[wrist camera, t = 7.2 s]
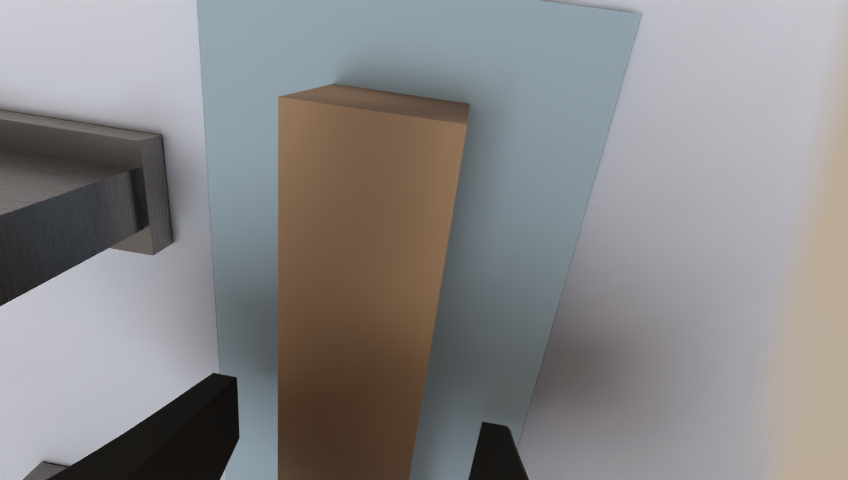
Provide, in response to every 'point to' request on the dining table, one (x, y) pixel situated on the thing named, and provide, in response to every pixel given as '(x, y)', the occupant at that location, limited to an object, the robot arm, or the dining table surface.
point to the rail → (359, 273)
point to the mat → (475, 196)
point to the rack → (74, 201)
